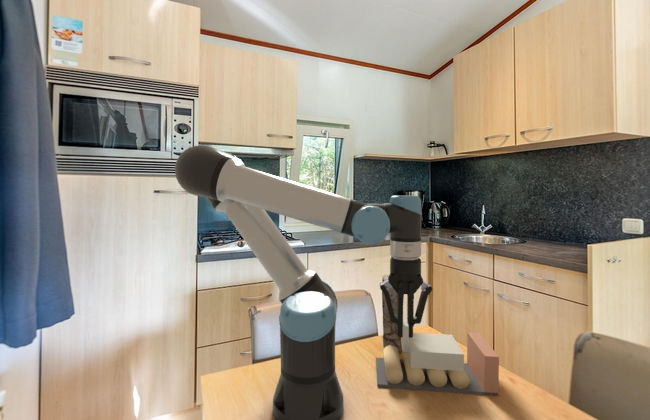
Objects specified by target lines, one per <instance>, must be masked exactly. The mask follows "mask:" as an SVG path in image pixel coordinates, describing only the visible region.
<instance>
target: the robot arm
mask: <svg viewBox="0 0 650 420" xmlns="http://www.w3.org/2000/svg"><path fill="white" fill-rule="evenodd" d="M174 173H175V174H174V175H175V178H176V180H177V183H178V184H179V185H180V187H181V188H182V189H184V191H186V192H187V193H189V194H190V195H193V196H197V197H203V198H206V199H207V201H209V203H210V205H211V206H212V208H214V210H215V211H216V212H219V213H224V214H225V215H226V216H227V218H228V219H229V220H230V221H231V223H232V225H233V226H234V227H235V229H236V230H237V231H238V232H237V233H239V234H240V236H241V237H242V238H243V240H244V242H245V243H246V244H247V246H248V247H249V249H250V250H251V251H252V253H253V255H255V258H256V259H257V260H258V262H260V264H261V266H262V267H263V269H264V270H265V271H266V273H267V274H268V275H269V277H270V278H271V280H272V281H273V282H274V284H275V285H276V287H277V289H278V290H279V291H278V298H277V299H278V301H280V304H281V306H280V311H279V317H278V322H279V326H280V327H279V333H280V334H279V336H280V337H279V338H280V345H279V346H280V349H279V351H280V374H279V378H278V381H277V385H276V388H275V390H274V393H273V398H272V413H273V414H272V415H273V418H274V419H275V420H340V419H341V418H342V416H343V414H344V408H345V407H344V402H345V401H344V400H345V399H344V393H343V390H342V388H341V385H340V382H339V381H340V380H339V378H338V376H337V372H336V325H337V323H336V322H337V315H338V313H337V312H338V299H337V296H336V295H337V294H336V293H335V291H334V290H333V288H332V287H331V286H330V284H328V283H327V282H326V281H324V280H322V278H321V277H320V276H319V274H318V273H317V271H315V270H312V269H307V267H306V266H305V265H304V264H303V262H302V260H301V259H300V257H299V256H298V255H297V254H296V252H295V250H294V249H293V248H292V246H291V245H290V243H289V241H287V240H286V238H285V237H284V235H283V233H282V232H281V231H280V230H279V228H278V227H277V225H276V224H275V222H274V221H273V220H272V218H271V216H269V214H268V213H267V212H271V213H273V214H278V215H281V216H284V217H287V218H291V219H294V220H297V221H300V222H304V223H307V224H310V225H313V226H318V227H320V228H324V229H327V230H330V231H333V232H337V233H340V234H342V235H346V236H348V237H352V238H355V239H356V240H358V241H360V242H362V243H364V244H368V245H375V244H379V243H381V242H382V241H383V240H385V238H387V236H388V235H390V239H389V241H390V242H389V255H390V256H391V257H390V259H389V274H388V275H389V277H388V280H387V281H385V282H384V283H382V282H380V283H379V289H380V290H381V293H382V292H383V293H384V295H385V299H386V303H387V307H388V311H389V315H390V319H391V322H392V323H396V324H397V334H398V337H401V349H402V350H403V352H409V338H412V337H413V333H414V326H415V324H416V325H417V324H418V325H419V324H421V322H422V319H423V315H424V312H425V308H426V305H427V300H428V297H429V295H430V294H431V292H433V287H432V285H431V284H430V283H426V282H425V281H424V279H423V277H422V259H421V258H420V257H422V215H423V212H422V200H421V198H420V196H419V195H391V197H390V199H389V203H387V202H386V203H365V202H363V201H360V200H355V199H352V198H349V197H345V196H342V195H340V194H337V193H336V194H335V193H333V192H330V191H326V190H323V189H320V188H316V187H313V186H309V185H307V184H303V183H300V182H296V181H293V180H290V179H287V178H284V177H280V176H276V175H273V174H270V173H267V172H264V171H260V170H258V169H253V168H251V167H247V166H246V165H245V164H244V161H242V159H240V158H239V157H237V156H236V155H234V154H233V153H230V152H227V151H223V150H220V149H217V148H214V147H212V146H208V145H203V144H202V145H194V146H190V147H188V148H187V149H185V150H184V151H183V152H181V153H180V154H179V156H178V158H177V159H176V162H175V166H174ZM389 285H391V286H392V287H393V289H394V290H395V291H396V293H397V316H395V315H394V311H393V307H392V303H391V299H390V295H389V291H388V290H389V289H390V287H389ZM419 289H420V290H421V292H420V295H419V298H418V302H417V306H416V309H414V305H415V303H414V302H415V294H416V292H417V291H418V290H419ZM403 295H404V296H405V295H406V296H407V297H406V298H407V299H406V300H407V302H406V307H407V308H406V309H407V310H406V311H407V313H406V315H407V317H406V321H404V300H403ZM414 310H416V311H414ZM414 313H415V314H414Z"/></svg>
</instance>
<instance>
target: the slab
mask: <svg viewBox="0 0 650 420" xmlns="http://www.w3.org/2000/svg"><path fill="white" fill-rule="evenodd" d="M407 356H408V359H409V363H410V367H411V368H423V369H438V370H454V371H464V363H465V353H464V352H463V350H462V349H461V347H460V345H459V344H458V342H457V341H456V339H455V338H454V335H453V334H446V333H445V334H444V333H426V332H425V333H424V332H422V333H421V332H413V337H412V338H409V352H407Z"/></svg>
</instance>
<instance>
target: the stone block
mask: <svg viewBox="0 0 650 420" xmlns="http://www.w3.org/2000/svg"><path fill="white" fill-rule="evenodd" d="M389 275H390V274H384V275H382V282H381V283H384V282H385V281H387V280H388V277H389ZM389 287H390V289H389V290H388V291H389V295H390V299H391V303H392V307H393V311H394V315H395V316H397V293H396V291H395V290H394V289H393V287H392V286H391V285H389ZM404 298H405V294H404V295H403V301H404ZM381 300H382V301H381V306H382V307H381V309H382V329H383V331H382V332H383V333H382V335H383V336H382V344H383V349H384V348H385V347H386V346H388V345H393V346H395V347H396V348H397V350H398V354H399V355H400V354H402V351H401V347H402V337H398V334H397V324H396V323H392V322H391V319H390V315H389V311H388V307H387V303H386V299H385V295H384V293H383V292H382V291H381Z"/></svg>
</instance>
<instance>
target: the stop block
mask: <svg viewBox="0 0 650 420" xmlns="http://www.w3.org/2000/svg"><path fill="white" fill-rule="evenodd" d="M466 342H467V344H466V345H467V346H466V363H467V364H468V366H469V368H470V369H471V371H472V373H473V374H474V376H475V378H476V379H477V381H478V383H479V384H480V386H481V388H482V389H483V391H484V392H490V393H491V394H492V395H491V396H494V395H493V393H497V394H498V395H497V396H499V380H500V379H499V377H500V376H499V373H500V371H499V369H500V357H499V355H498V354H497V352H495V350H494V349H493V348H492V346H491V345H490V344H489V343H488V342H487V341H486V339H485V338H484V337H483V335H482V334H481V333H480V332H467V337H466ZM484 396H489V395H488V394H487V395H485V393H484Z"/></svg>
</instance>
